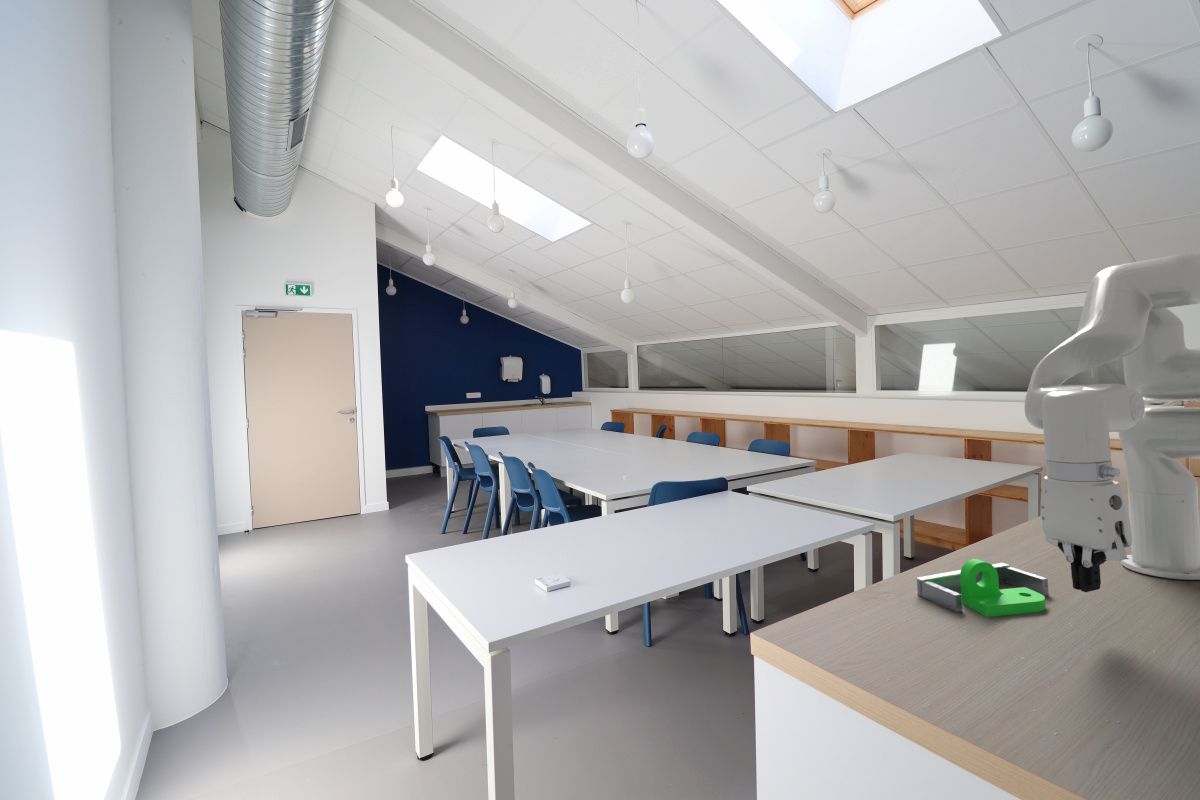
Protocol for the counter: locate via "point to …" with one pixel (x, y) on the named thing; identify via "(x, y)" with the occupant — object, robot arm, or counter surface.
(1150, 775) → the counter surface
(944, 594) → the steel bracket
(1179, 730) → the counter surface
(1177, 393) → the robot arm
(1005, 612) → the mechanical part
